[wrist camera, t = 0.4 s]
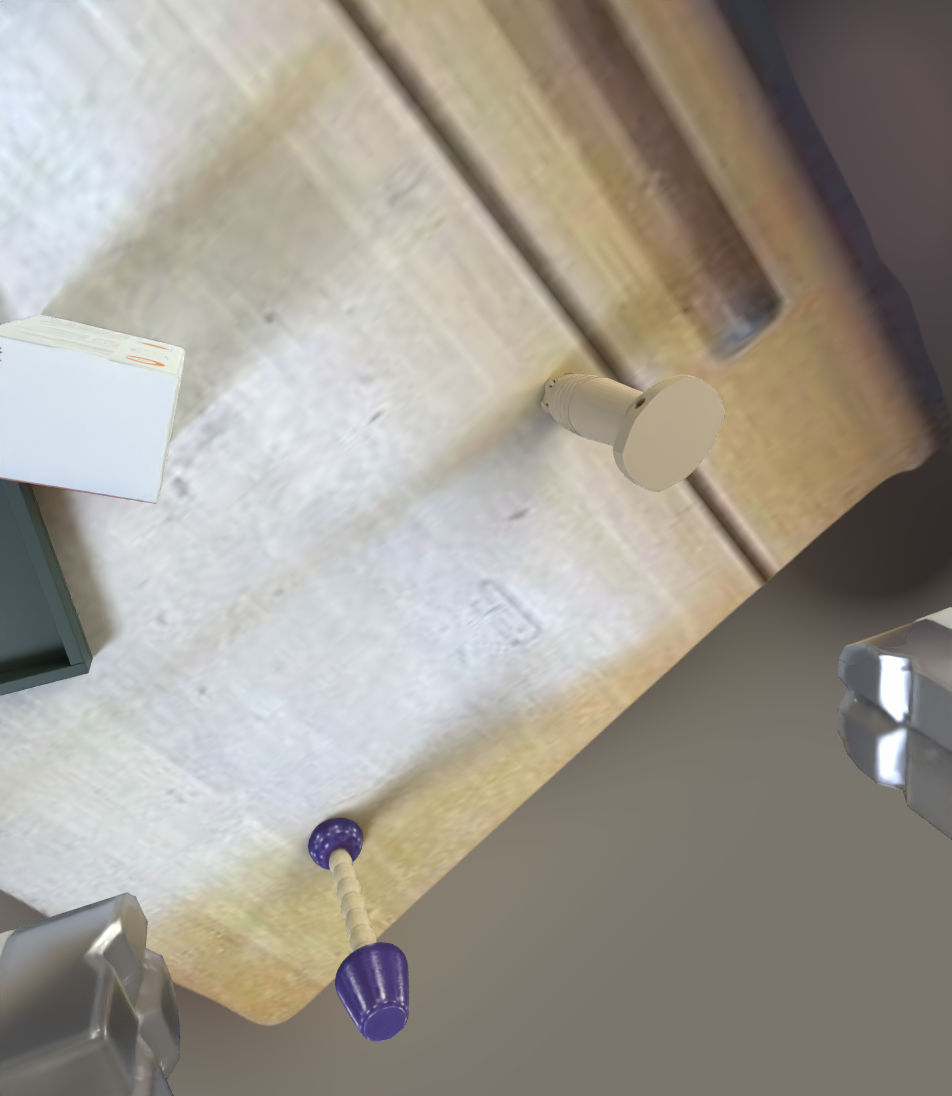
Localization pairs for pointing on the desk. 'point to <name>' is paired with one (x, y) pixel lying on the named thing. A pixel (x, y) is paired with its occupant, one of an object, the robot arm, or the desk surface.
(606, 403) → the handle
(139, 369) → the small box
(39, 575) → the tray
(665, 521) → the desk surface
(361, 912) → the toy lamp
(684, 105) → the desk surface
